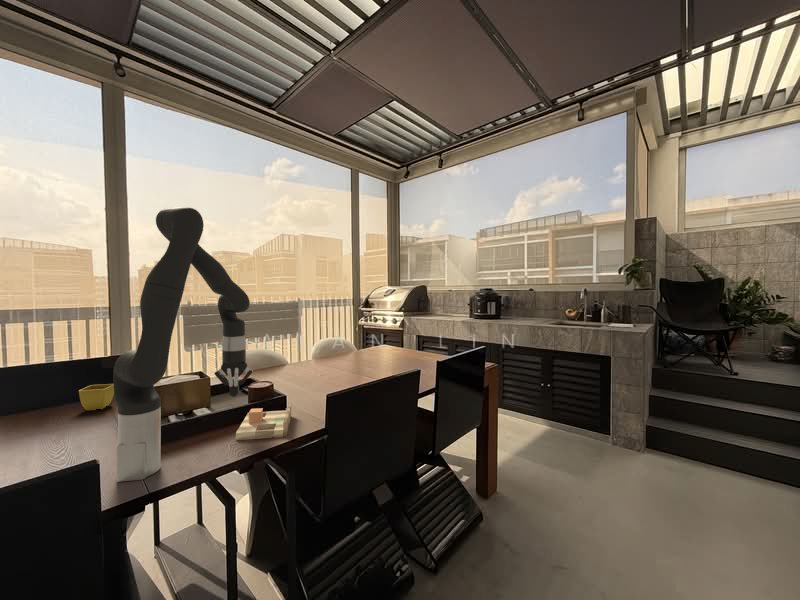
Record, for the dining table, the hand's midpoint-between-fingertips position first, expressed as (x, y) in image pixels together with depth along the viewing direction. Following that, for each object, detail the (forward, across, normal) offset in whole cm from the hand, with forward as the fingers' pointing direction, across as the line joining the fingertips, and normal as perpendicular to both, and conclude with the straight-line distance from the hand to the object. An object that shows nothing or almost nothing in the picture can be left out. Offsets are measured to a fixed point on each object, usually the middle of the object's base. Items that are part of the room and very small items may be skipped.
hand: (234, 396), depth 120 cm
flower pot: (+12, -60, +32) cm, 69 cm away
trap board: (+12, +11, 0) cm, 16 cm away
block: (+10, +7, 0) cm, 12 cm away
